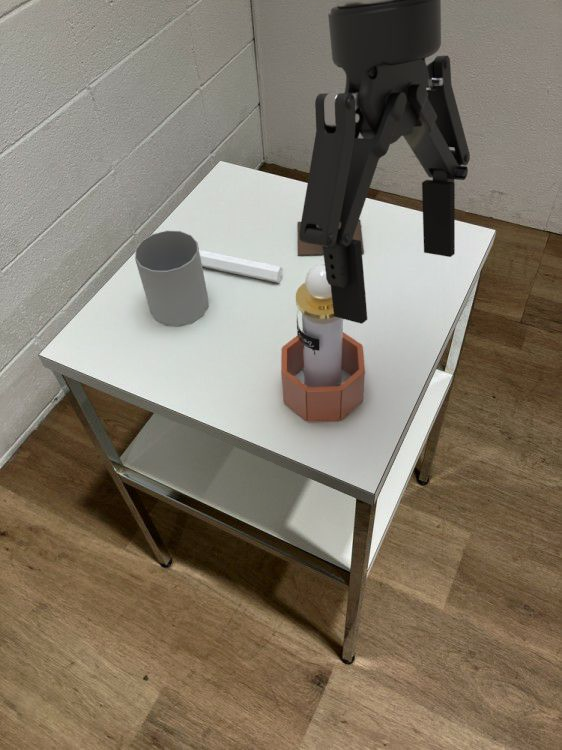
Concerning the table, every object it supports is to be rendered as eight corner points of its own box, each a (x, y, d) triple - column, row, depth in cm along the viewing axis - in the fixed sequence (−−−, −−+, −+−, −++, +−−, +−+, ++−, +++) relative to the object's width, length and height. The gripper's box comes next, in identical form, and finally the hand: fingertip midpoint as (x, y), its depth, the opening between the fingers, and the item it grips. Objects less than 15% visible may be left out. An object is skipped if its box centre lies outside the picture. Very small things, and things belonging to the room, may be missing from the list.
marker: (184, 262, 98) (281, 281, 94) (177, 264, 96) (276, 284, 92) (185, 245, 97) (283, 264, 93) (178, 247, 95) (278, 266, 91)
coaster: (360, 221, 101) (360, 219, 101) (363, 254, 96) (363, 252, 96) (297, 223, 102) (297, 221, 102) (297, 256, 97) (297, 254, 96)
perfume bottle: (327, 365, 83) (328, 242, 67) (354, 394, 79) (362, 272, 64) (290, 385, 81) (283, 264, 65) (317, 415, 78) (316, 295, 62)
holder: (359, 359, 83) (361, 327, 78) (364, 420, 77) (367, 390, 72) (284, 361, 83) (281, 329, 79) (283, 422, 77) (280, 392, 73)
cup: (220, 297, 92) (210, 242, 84) (185, 334, 87) (172, 279, 80) (174, 278, 95) (161, 223, 87) (138, 312, 91) (121, 258, 83)
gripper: (430, -22, 52) (434, 226, 63) (211, 31, 38) (267, 339, 49) (519, -34, 48) (506, 236, 59) (308, 21, 33) (345, 364, 44)
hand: (398, 283), depth 54 cm, fingers open, 13 cm apart
